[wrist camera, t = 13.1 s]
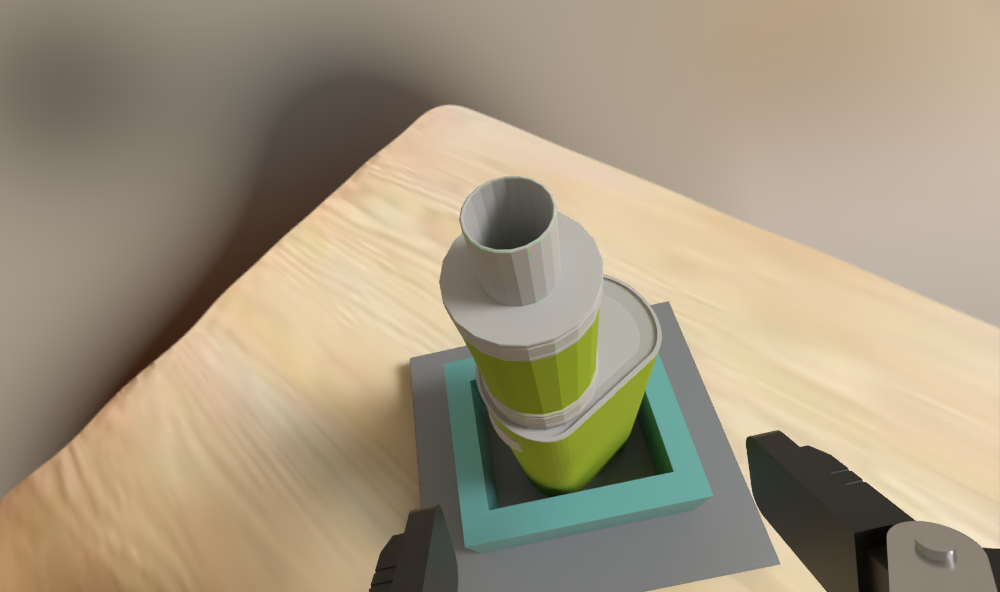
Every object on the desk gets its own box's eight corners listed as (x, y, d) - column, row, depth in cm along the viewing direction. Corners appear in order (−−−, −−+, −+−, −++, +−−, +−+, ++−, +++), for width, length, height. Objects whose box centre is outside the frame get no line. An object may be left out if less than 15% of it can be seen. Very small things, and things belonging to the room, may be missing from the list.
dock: (437, 632, 23) (403, 642, 18) (415, 366, 30) (387, 328, 26) (771, 565, 22) (817, 559, 18) (665, 311, 30) (680, 262, 26)
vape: (506, 457, 25) (349, 219, 8) (588, 384, 27) (600, 46, 10) (554, 516, 24) (482, 369, 7) (639, 434, 25) (765, 133, 8)
